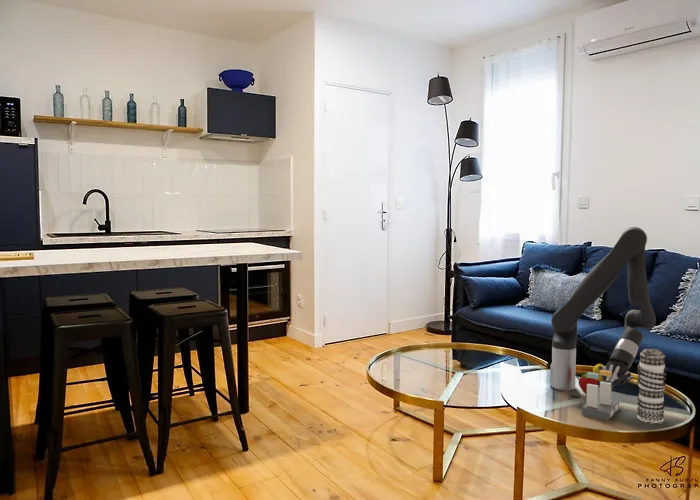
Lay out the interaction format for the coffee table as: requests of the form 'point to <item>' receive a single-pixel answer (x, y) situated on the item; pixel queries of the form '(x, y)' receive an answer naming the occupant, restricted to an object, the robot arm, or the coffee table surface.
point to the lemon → (598, 371)
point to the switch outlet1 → (592, 391)
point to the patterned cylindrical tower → (651, 386)
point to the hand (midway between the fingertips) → (606, 392)
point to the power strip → (601, 410)
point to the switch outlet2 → (605, 389)
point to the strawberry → (586, 382)
